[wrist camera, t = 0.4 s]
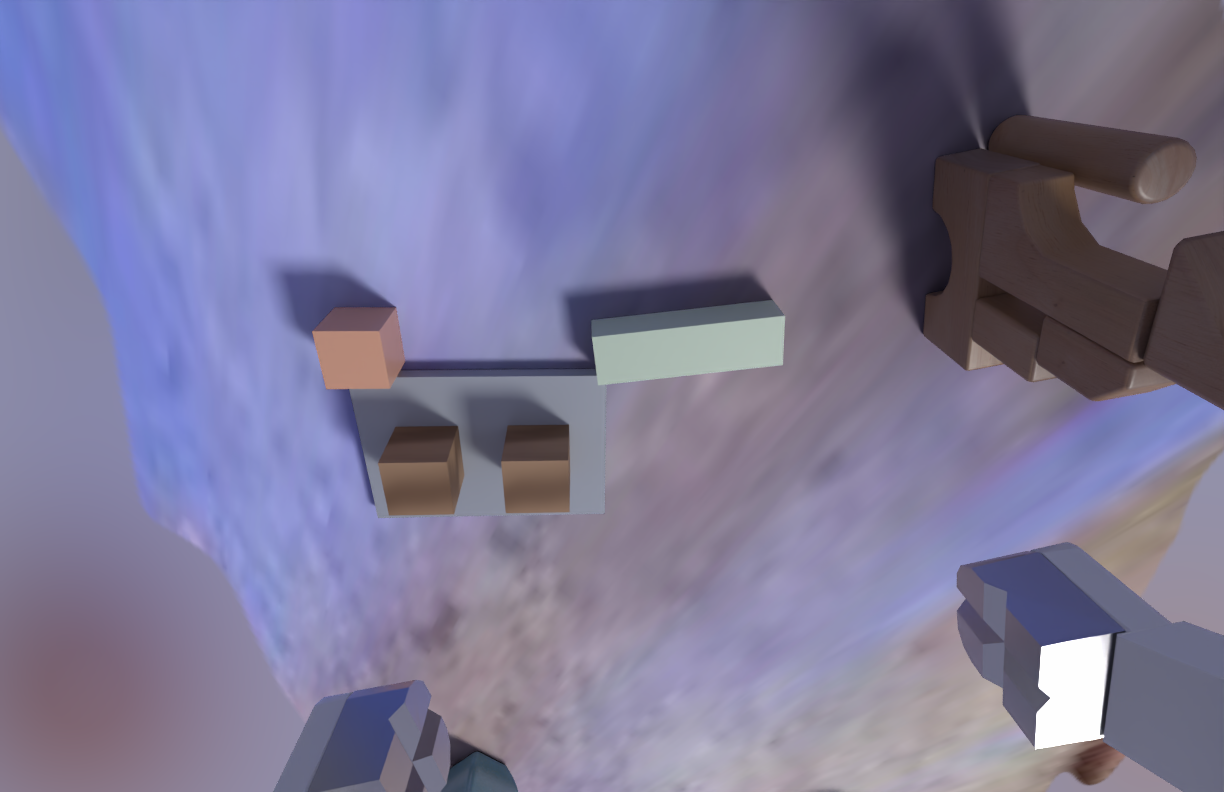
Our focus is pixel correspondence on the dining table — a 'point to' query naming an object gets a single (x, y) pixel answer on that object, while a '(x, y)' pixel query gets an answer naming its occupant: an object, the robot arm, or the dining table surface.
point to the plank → (688, 342)
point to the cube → (359, 347)
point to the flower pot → (479, 776)
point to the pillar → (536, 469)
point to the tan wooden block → (422, 470)
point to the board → (490, 427)
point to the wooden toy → (1074, 265)
